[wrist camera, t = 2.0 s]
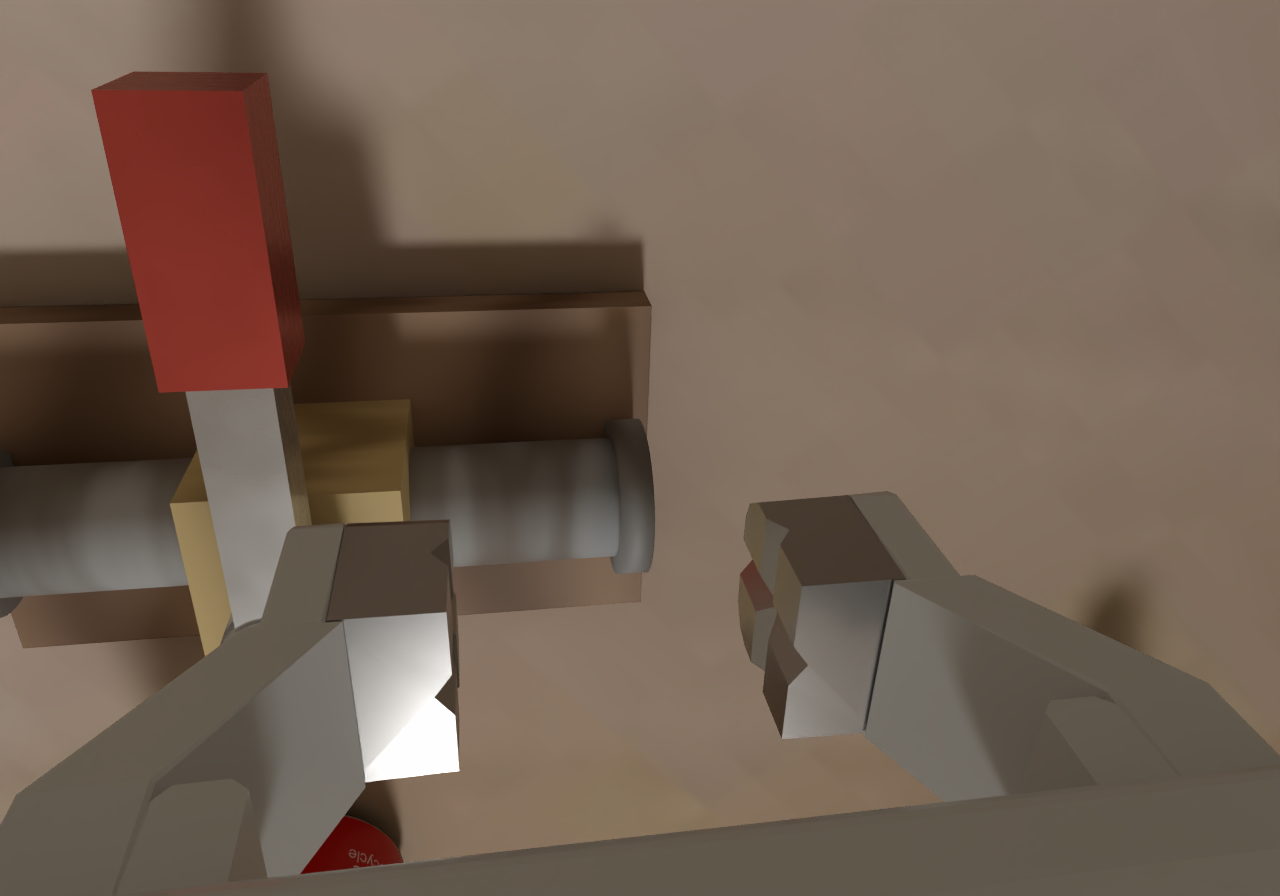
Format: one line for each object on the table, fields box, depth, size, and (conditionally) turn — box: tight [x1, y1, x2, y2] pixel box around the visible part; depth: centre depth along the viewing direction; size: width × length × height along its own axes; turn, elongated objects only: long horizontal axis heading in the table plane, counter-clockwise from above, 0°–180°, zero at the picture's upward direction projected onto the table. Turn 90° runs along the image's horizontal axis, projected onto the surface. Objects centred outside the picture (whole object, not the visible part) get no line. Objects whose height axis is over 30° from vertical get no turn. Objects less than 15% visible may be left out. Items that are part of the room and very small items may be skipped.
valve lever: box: [91, 72, 312, 645], centre depth 22 cm, size 16×3×3 cm, turn 178°
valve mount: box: [0, 291, 655, 656], centre depth 30 cm, size 22×12×9 cm, turn 88°
